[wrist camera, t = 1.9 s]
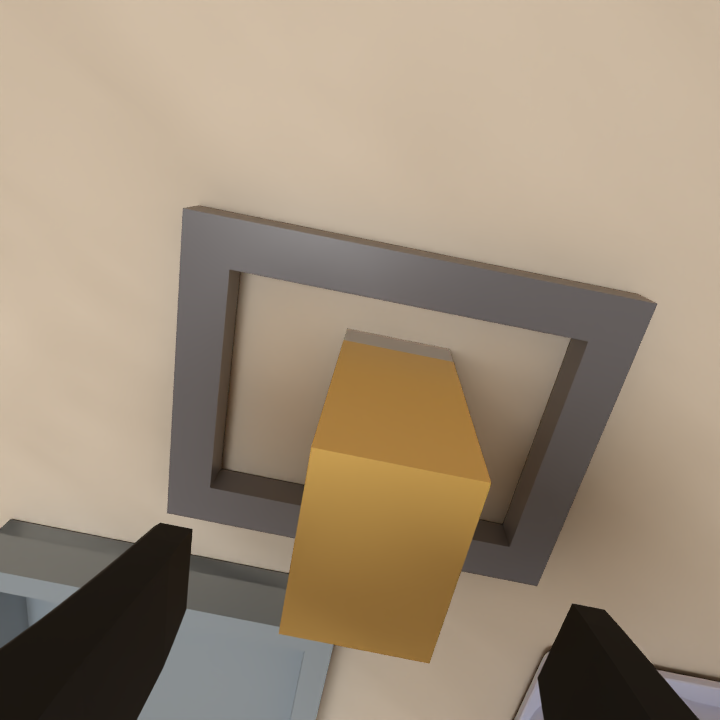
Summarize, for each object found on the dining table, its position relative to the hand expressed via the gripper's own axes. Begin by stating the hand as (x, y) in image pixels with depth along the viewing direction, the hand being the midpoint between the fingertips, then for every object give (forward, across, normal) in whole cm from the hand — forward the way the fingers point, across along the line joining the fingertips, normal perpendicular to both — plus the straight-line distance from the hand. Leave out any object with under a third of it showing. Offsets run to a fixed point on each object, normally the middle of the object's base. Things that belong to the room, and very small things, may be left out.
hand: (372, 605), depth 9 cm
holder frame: (+9, 0, 0) cm, 9 cm away
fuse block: (+9, 0, 0) cm, 9 cm away
